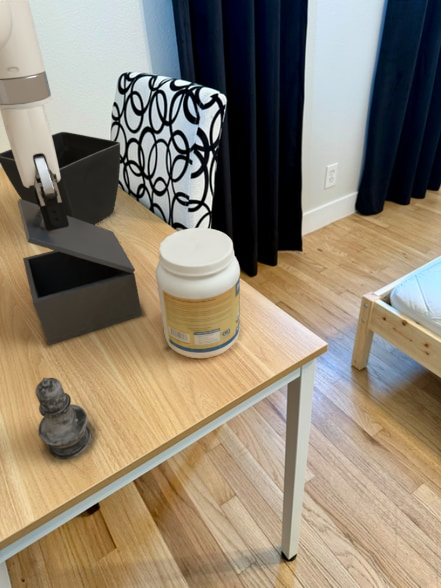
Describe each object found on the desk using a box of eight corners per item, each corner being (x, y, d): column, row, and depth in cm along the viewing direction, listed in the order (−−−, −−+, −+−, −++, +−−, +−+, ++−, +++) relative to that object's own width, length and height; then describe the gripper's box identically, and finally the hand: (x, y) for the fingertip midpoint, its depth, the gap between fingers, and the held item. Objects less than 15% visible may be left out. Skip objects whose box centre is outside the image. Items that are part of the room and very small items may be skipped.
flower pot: (78, 194, 113) (61, 129, 103) (133, 210, 105) (122, 141, 95) (18, 225, 100) (-7, 154, 90) (76, 245, 92) (56, 170, 82)
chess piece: (36, 449, 54) (4, 387, 47) (69, 414, 58) (44, 352, 51) (71, 469, 52) (43, 407, 44) (103, 431, 56) (82, 369, 48)
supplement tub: (254, 343, 68) (257, 253, 57) (185, 373, 63) (174, 281, 53) (216, 301, 76) (213, 216, 66) (153, 326, 72) (138, 238, 61)
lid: (27, 242, 58) (42, 209, 56) (17, 202, 68) (29, 173, 66) (133, 273, 68) (147, 246, 67) (111, 235, 78) (123, 210, 76)
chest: (48, 345, 69) (32, 302, 63) (37, 298, 78) (22, 258, 73) (142, 315, 74) (134, 273, 68) (120, 274, 84) (112, 235, 78)
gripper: (-18, 80, 59) (22, 203, 70) (-11, 109, 46) (36, 252, 57) (39, 74, 61) (69, 194, 72) (60, 100, 49) (92, 239, 60)
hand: (54, 218), depth 65 cm, fingers closed on lid, 5 cm apart
